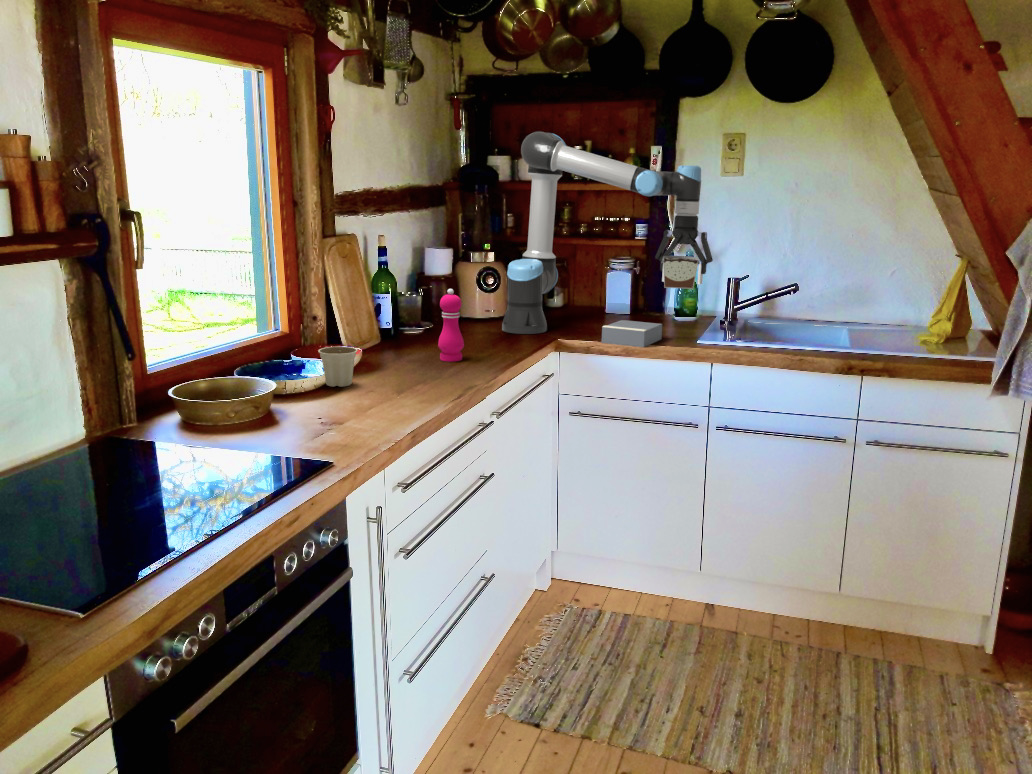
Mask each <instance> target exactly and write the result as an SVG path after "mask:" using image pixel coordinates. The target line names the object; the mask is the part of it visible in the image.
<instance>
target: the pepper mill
mask: <svg viewBox="0 0 1032 774" xmlns="http://www.w3.org/2000/svg"><path fill="white" fill-rule="evenodd" d="M446 291H447V294H444V295H442V297H441V298H440V301H439V307H440V309H441V310H442V311H441V317H442V318H443V323H442V324H443V326H442V330H441V332H440V335H439V337H438V344H437V347H438V348H439V350H441V352H440V353H439V360H440V361H443V362H450V363H451V362H453V363H454V362H459V361H462V360H463V352H461V351H462V350H463V349H464V347H465V342H464V341H465V340H464V338H463V337H464V336H463V335H462V333H461V330H460V326H459V318H460V317H461V316H460V313H461V312H460V310H461V308H462V299H461V298H460V297H459V296H458V295H456V294H455V291H454V289H453V288H448V289H447V290H446Z"/></svg>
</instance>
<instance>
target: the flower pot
mask: <svg viewBox="0 0 1032 774" xmlns="http://www.w3.org/2000/svg"><path fill="white" fill-rule="evenodd" d="M317 351H318V353H319V356H320V358H321V363H322V367H323V373H324V377H325V379H324V380H325V385H326V386H329V387H332V388H334V387H336V386H338V387H341V388H343V387H349V386H351V384H352V383H353V374H354V367H355V358H356V356H357V352H358V348H356V347H353V346H352V347H351V346H327V347H322V348H319V349H318V350H317Z"/></svg>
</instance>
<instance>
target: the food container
mask: <svg viewBox="0 0 1032 774" xmlns="http://www.w3.org/2000/svg"><path fill="white" fill-rule="evenodd" d="M663 262H664V282H663V284H664V285H663V287H664V289H665V288H666V289H686V290H687V289H688V290H691V289H694V286H695V281H696V275H697V271H698V267H699V264H701V261H700V260H699V258H698V256H689V255H688V256H687V255H669V256H664V258H663V259H662V263H663Z"/></svg>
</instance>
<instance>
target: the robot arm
mask: <svg viewBox="0 0 1032 774" xmlns="http://www.w3.org/2000/svg"><path fill="white" fill-rule="evenodd" d="M520 154H521V158H522V159H523V161H524V162H525V163H526V164H527V174H528V176H529V177H530V178H531V189H530V190H531V191H530V202H529V203H530V204H529V219H528V220H529V221H528V233H527V235H528V236H527V248H526V251H525V252H524V253H522V258H520V259H515V260H512V261H511V262H509V264H508V265H507V272H506V275H507V309H506V310H505V314H504V317H503V320H502V323H501V330H502V331H503V332H505V333H509V334H516V335H521V334H522V335H525V334H526V335H530V334H531V335H533V334H536V335H537V334H542V333H545V332H547V331H548V324H547V320H546V316H545V313H544V311H543V295H544V294H547V293H549V292H550V291H551V290H552V289H553V288H554V287H555V285H556V284H557V282H558V278H559V272H558V269H557V267H556V262H557V261H556V260H557V256H556V255H555V254H554V253H553V241H554V231H555V230H554V228H555V215H556V201H557V190H558V189H557V188H558V181H559V180H560V178H561V177H563V171H564V172H567V173H570V174H572V175H577V176H580V177H583V178H587V179H591V180H593V181H597V182H600V183H605V184H608V185H611V186H613V187H614V186H615V187H617V188H620V189H625V190H627V191H631V192H634V193H638V194H640V195H642V196H645V197H653V196H672V197H673V196H674V197H675V208H674V213H675V214H676V215H675V216H674V220H673V221H674V222H673V223H674V224H673V230H670V229H666V230H664V231H663V238H662V240H661V243H660V245H659V247H658V250H657V252H656V254H655V256H654V257H655V259H656V260H658V261H660V265H659V270H660V271H661V272H662V277H661V282H663V283H664V262H663V263H662V259H663V258H664V256H671V254H672V252H674V250H675V249H676V247H677V246H678V245H690V246H691V248H692V250H693V251H694V253H695V254H696V257H697V258H699V261H700V264H698V269H697V271H698V273H697V285H698V286H699V285H700V286H701V285H703V279H704V278H703V277H704V275H705V274H706V273H707V265H708V264H709V263H712V262H713V260H714V258H713V256H712V252H711V248H710V245H709V242H708V233H707V231H701V232H699V230H698V226H699V224H698V223H699V216H698V214H700V201H701V200H700V198H701V197H700V196H701V188H702V187H701V185H702V167H700V165H679V166H678V167H677V169H676V171H659V170H658V171H657V170H655V171H654V170H651V169H648V168H644V167H639V166H637V165H633V164H631V163H626V162H623V161H620V160H616V159H612V158H610V157H605V156H602V155H600V154H599V155H598V154H595V153H592V152H588V151H585V150H582V149H581V150H580V149H578V148H574V147H571V146H568V145H567V144H566V142H565V141H564V139H562V138H561V137H560V136H559V135H557V134H555V133H552V132H544V131H534V132H532V133H530V134H528V135H526V136H525V138H524V139H523V141H522V143H521V148H520ZM672 236H673V237H674V239H673V240H672V242H671V244H670V245H669V246H668V247H667V249H666V246H667V244H668V242H669V240H670V238H671V237H672ZM697 237H699V239H700V242H701V244H702V248H703V252H704V253H703V252H702V250H701V248H700V246H699V244H698V242H697V240H696V239H697ZM665 249H666V250H665Z"/></svg>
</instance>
